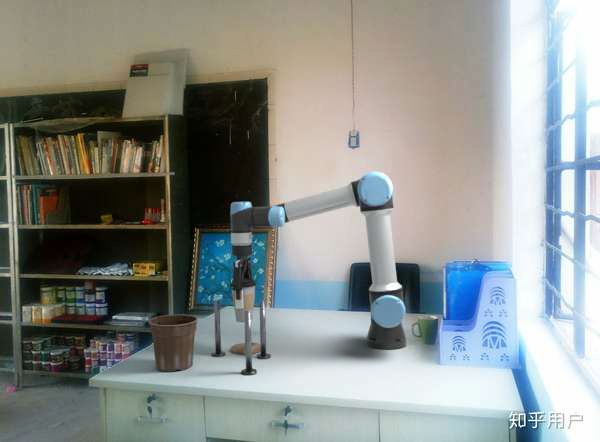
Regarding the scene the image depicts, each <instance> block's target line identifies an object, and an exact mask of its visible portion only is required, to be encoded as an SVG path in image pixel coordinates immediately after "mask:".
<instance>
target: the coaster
mask: <svg viewBox="0 0 600 442" xmlns="http://www.w3.org/2000/svg"><path fill="white" fill-rule="evenodd" d="M251 345H252V355H255V354H256V355H257V354H260V353H261V343H256V342H251ZM230 352H231V353H232V354H235V355H243V356H246V353H245V342H244V343H243V342H242V343H238V344H234V345H232V346H231V347H230Z"/></svg>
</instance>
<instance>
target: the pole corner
mask: <svg viewBox="0 0 600 442" xmlns="http://www.w3.org/2000/svg"><path fill="white" fill-rule="evenodd" d="M258 302H259V327H260V328H259V334H260V335H259V336H260V339H259V340H260V342H259V344H261V352H260V353H257V354H256V358H257V359H259V360H267V359H270V358H271V357H272V356H271V355H272V354H271V353H267V330H266V329H267V325H266V323H267V321H266V301H265V300H259V301H258Z"/></svg>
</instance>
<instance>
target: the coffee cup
mask: <svg viewBox="0 0 600 442" xmlns="http://www.w3.org/2000/svg"><path fill="white" fill-rule="evenodd" d="M229 286H230V288H231V291H232V293H231V294H232V302H233V308H234V314H235V321H236V322H237V323H245V315H244V311H251V322H252V321H253V320H254V307H255V299H256V297H255V296H256V291H255V290H256V286H257V282H256V281H255V279H254V278H253V279H251V278H243V284H242V290H243V309H236V307H235V291H233V290H232V288H233V279H232V281H231V283H230V285H229Z"/></svg>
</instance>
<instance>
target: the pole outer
mask: <svg viewBox="0 0 600 442" xmlns="http://www.w3.org/2000/svg"><path fill="white" fill-rule="evenodd" d="M244 315H245V322H244V341H245V342H244V343H245V353H246V355H245V368H244V369H241V372H240V373H241V375H243V376H255V375H256V374H258V370H257V368H253V357H252V355H253V354H252V345H251V343H252V321H251V311H244Z"/></svg>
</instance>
